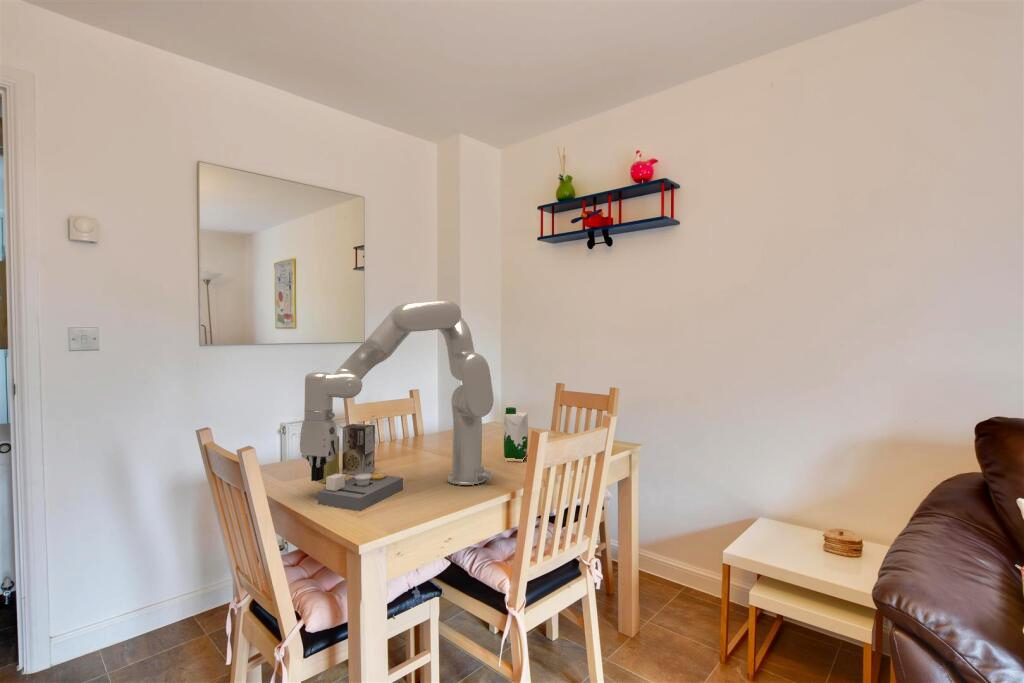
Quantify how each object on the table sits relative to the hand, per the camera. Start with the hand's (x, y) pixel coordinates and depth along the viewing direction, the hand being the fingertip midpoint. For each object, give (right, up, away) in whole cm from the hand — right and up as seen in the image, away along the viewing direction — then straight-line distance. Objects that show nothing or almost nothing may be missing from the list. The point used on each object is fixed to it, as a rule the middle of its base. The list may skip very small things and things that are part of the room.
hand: (317, 479), depth 142 cm
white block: (+6, -4, -2) cm, 8 cm away
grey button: (+12, -3, +3) cm, 13 cm away
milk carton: (+57, -7, +50) cm, 76 cm away
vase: (-3, -6, +18) cm, 19 cm away
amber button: (+14, -4, +10) cm, 18 cm away
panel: (+12, -6, +3) cm, 14 cm away
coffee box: (+3, -6, +28) cm, 29 cm away
